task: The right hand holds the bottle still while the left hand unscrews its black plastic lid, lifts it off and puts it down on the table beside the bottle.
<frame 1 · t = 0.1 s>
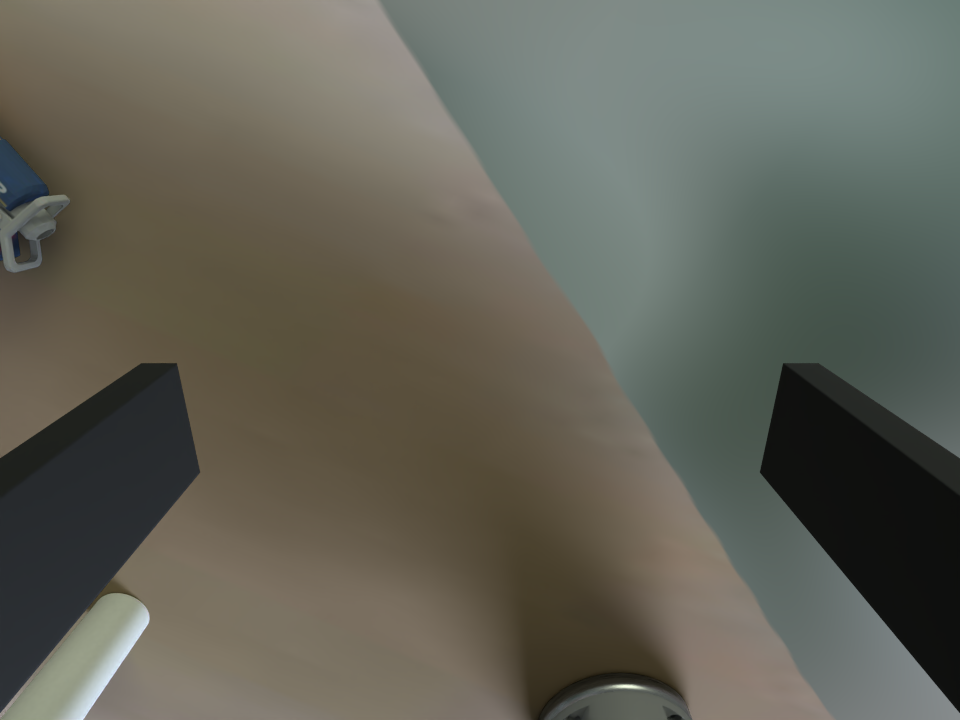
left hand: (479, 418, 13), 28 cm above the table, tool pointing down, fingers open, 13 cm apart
bottle: (122, 613, 51), on the table
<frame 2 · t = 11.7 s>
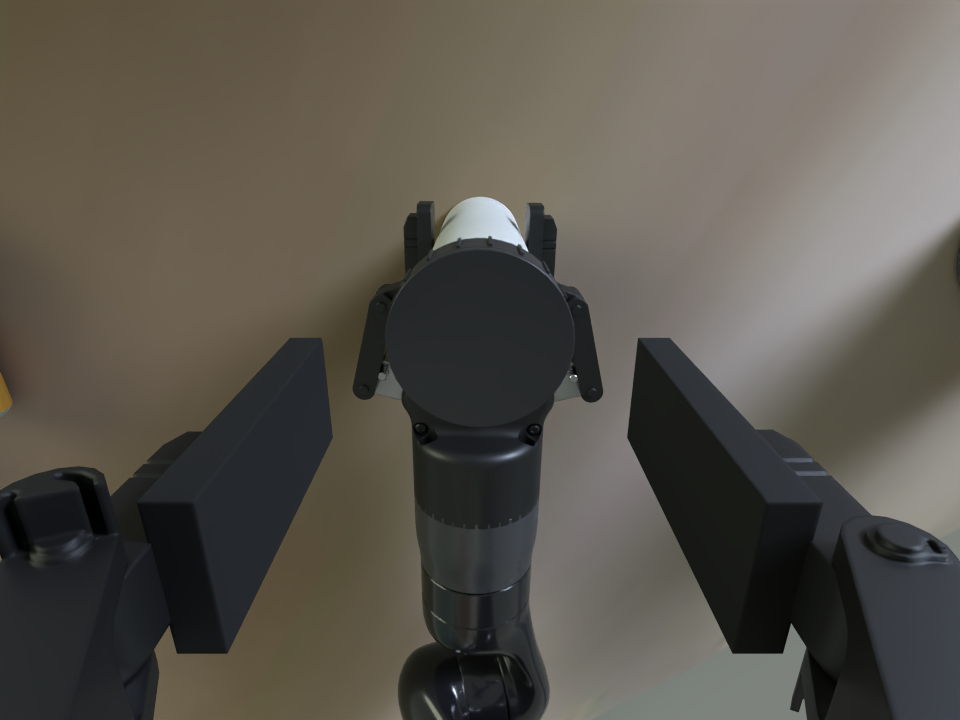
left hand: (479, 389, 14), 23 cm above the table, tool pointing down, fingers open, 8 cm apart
right hand: (479, 205, 28), fingers closed on bottle, 4 cm apart
lid: (479, 340, 17), point 19 cm above the table, screwed on, not yet turned
bottle: (479, 236, 35), on the table, touching right hand
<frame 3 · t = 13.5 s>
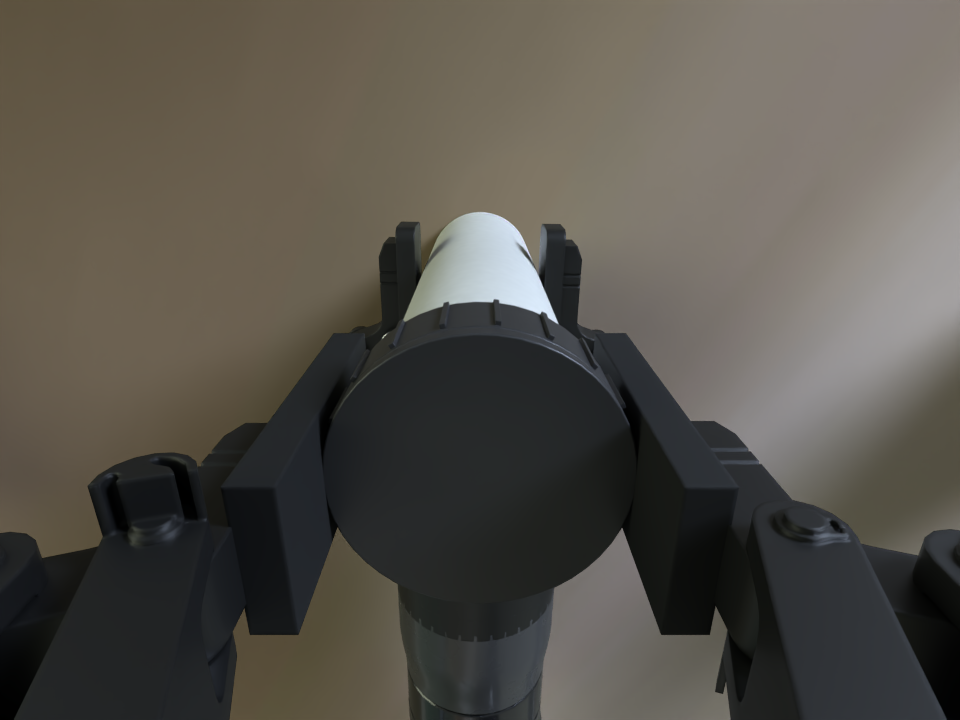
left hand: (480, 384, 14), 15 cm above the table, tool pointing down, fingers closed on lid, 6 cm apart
lid: (479, 472, 11), point 19 cm above the table, screwed on, not yet turned, touching left hand
bottle: (479, 260, 28), on the table, touching right hand
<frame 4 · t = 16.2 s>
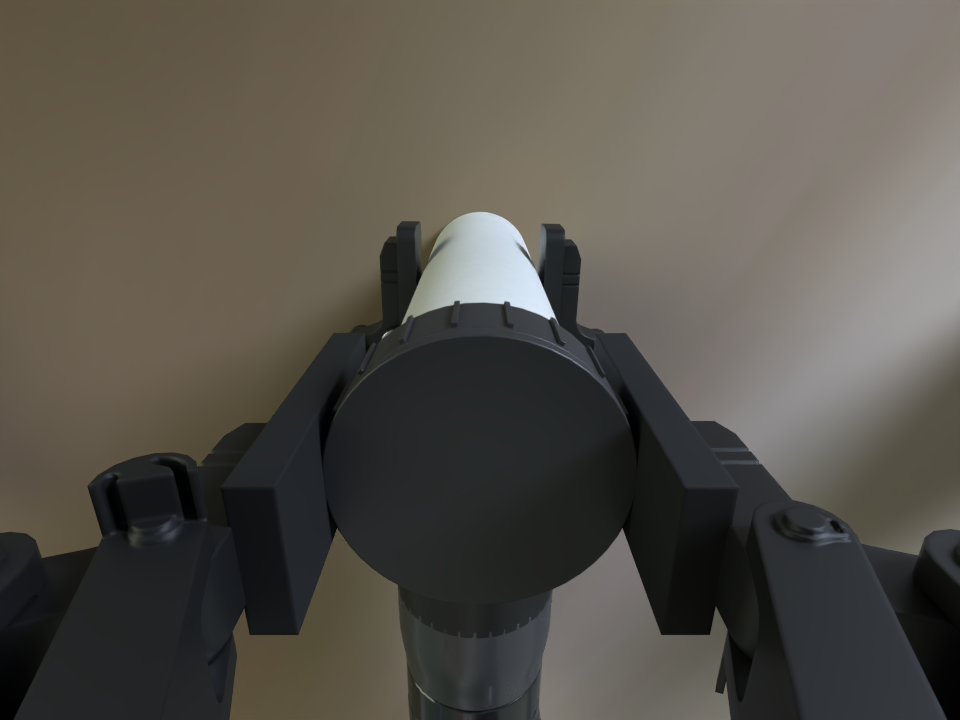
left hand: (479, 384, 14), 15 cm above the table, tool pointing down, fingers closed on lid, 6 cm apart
lid: (479, 473, 11), point 19 cm above the table, turned 72° so far, risen 0.2 cm, still on its thread, touching left hand
bottle: (479, 260, 29), on the table, touching right hand
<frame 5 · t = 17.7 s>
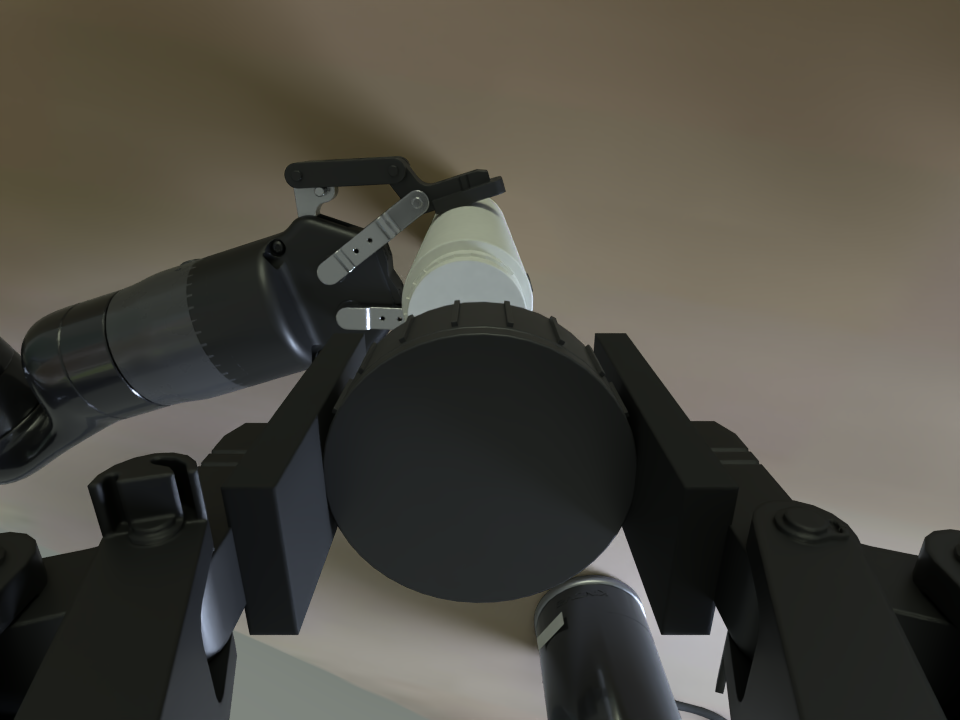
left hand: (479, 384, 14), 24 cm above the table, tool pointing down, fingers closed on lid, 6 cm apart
lid: (479, 471, 11), point 28 cm above the table, off its thread, touching left hand
bottle: (469, 229, 37), on the table, touching right hand
when the left hand's fingers open (0 cm above the table, at t = 23.2 s): lid drops 3 cm, point 2 cm above the table.
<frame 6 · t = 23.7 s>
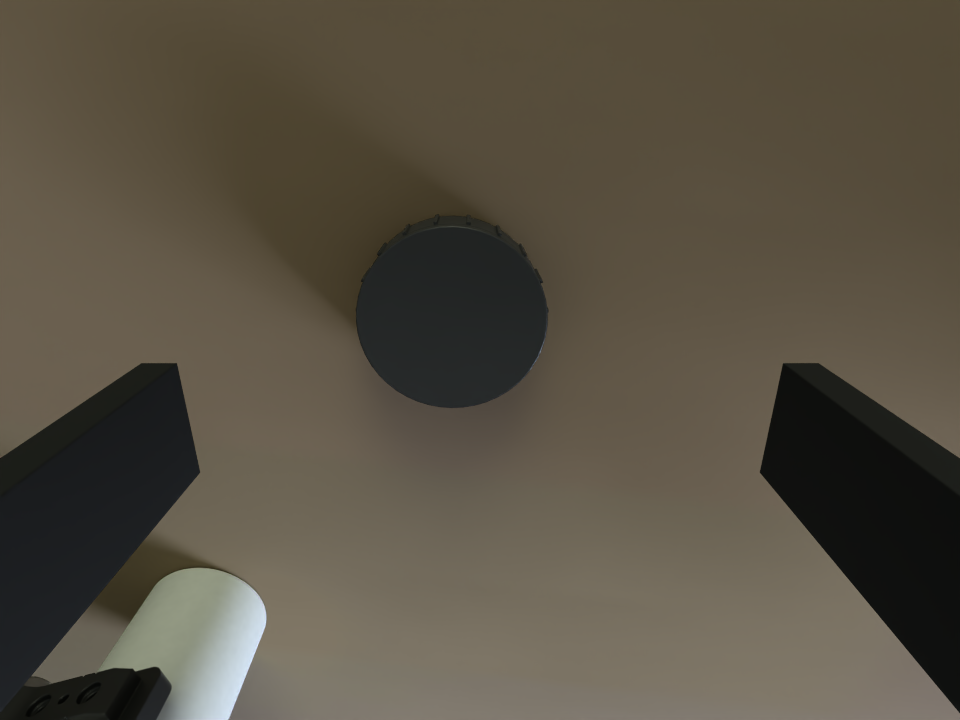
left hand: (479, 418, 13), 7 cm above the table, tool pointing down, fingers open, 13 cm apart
lid: (452, 319, 17), point 2 cm above the table, off its thread
bottle: (208, 611, 24), on the table, touching right hand
when the right hand's fingers open (7 cm above the table, at t = 23.9 s): bottle stays where it is, on the table.
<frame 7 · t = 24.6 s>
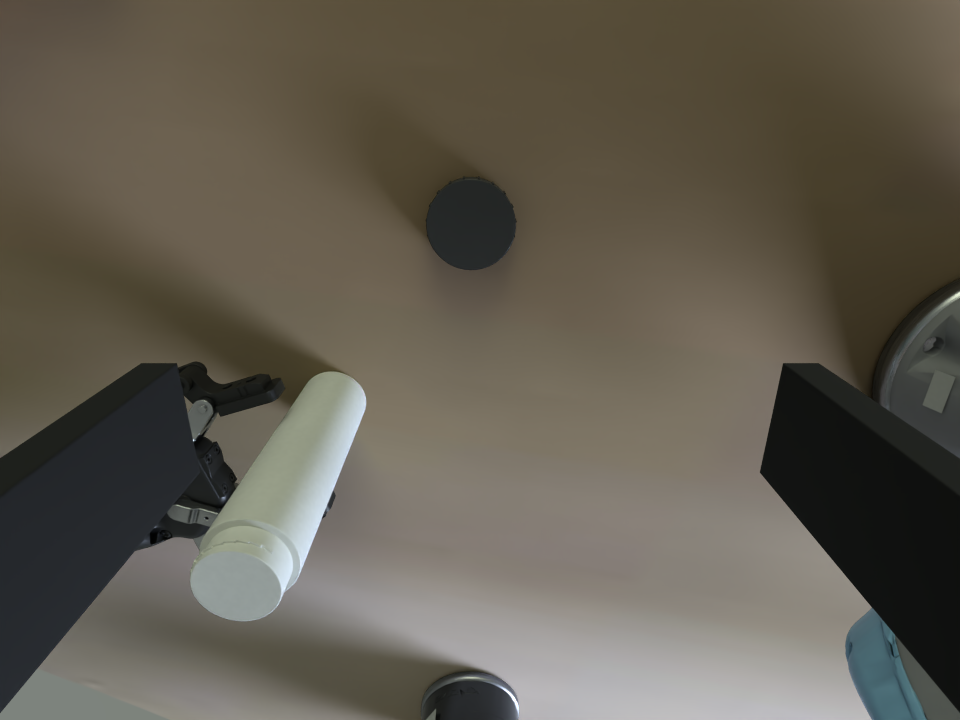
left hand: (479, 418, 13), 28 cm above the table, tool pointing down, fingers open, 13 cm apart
lid: (471, 225, 36), point 2 cm above the table, off its thread
bottle: (334, 400, 43), on the table
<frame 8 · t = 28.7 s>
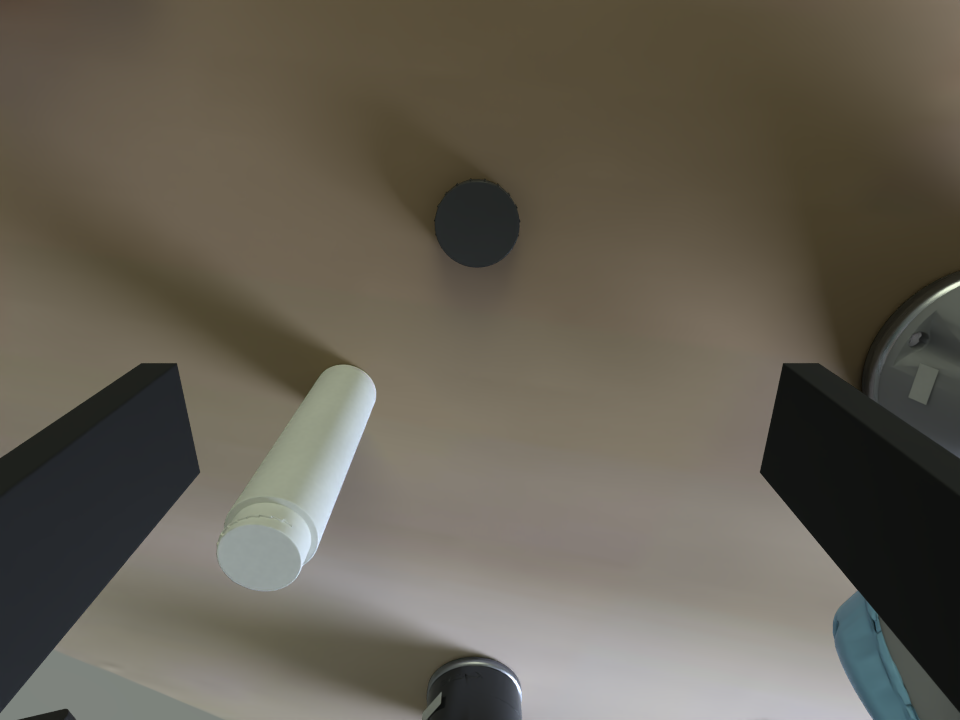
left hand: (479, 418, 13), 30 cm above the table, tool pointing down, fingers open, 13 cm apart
lid: (477, 224, 38), point 2 cm above the table, off its thread
bottle: (346, 392, 45), on the table
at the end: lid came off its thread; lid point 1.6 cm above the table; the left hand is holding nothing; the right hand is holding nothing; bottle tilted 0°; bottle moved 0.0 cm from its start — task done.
